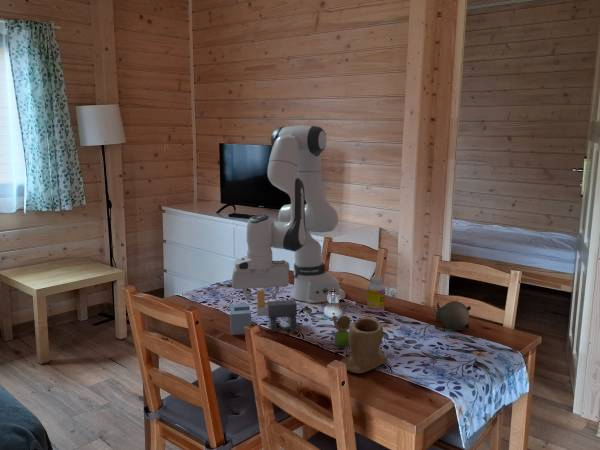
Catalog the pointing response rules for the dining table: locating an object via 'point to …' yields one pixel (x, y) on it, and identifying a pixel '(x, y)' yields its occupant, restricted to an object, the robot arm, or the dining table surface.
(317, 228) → the robot arm
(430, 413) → the dining table surface
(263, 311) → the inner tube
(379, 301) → the supplement bottle
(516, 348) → the dining table surface
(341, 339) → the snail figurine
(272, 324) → the grey arch block
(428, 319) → the dining table surface
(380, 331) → the stone cup
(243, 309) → the cradle socket
